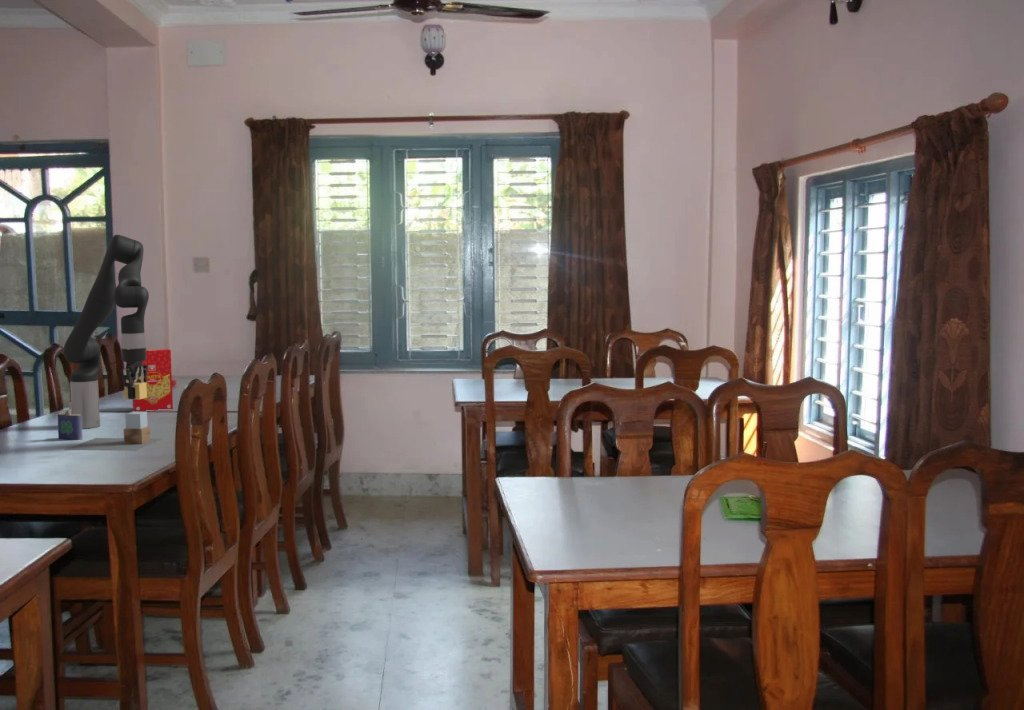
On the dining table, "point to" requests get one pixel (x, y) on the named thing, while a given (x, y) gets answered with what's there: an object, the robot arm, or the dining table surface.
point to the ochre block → (138, 391)
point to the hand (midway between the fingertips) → (135, 397)
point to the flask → (69, 426)
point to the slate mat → (111, 444)
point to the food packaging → (157, 382)
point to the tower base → (137, 435)
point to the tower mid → (136, 420)
